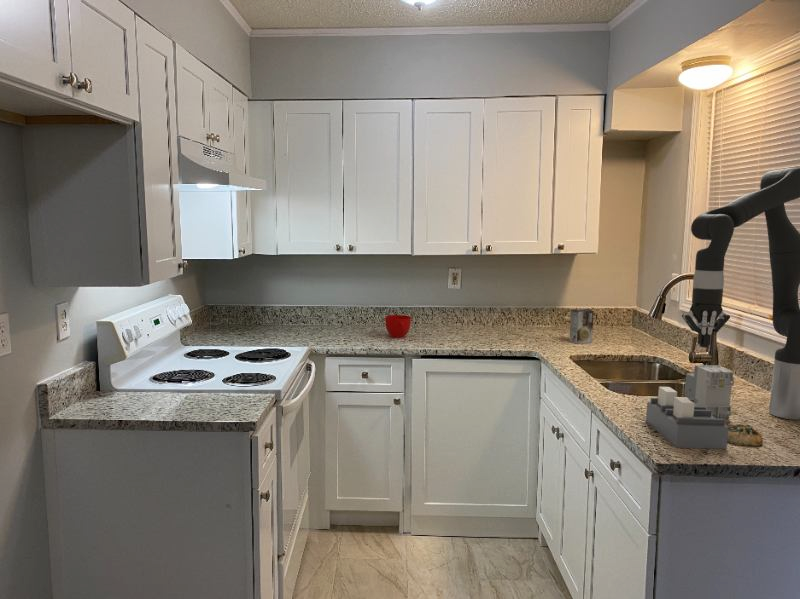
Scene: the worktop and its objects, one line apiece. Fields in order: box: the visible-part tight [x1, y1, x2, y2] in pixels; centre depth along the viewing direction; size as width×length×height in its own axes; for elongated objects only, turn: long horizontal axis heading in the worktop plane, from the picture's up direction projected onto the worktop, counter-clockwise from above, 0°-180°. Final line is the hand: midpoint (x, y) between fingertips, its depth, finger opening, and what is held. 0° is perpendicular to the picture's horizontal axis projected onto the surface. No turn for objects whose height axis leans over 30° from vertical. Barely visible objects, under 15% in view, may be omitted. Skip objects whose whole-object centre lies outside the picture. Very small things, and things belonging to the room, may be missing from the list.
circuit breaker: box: [683, 364, 735, 422], centre depth 176 cm, size 8×14×15 cm, turn 2°
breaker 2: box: [673, 396, 695, 418], centre depth 152 cm, size 3×5×5 cm, turn 178°
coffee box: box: [569, 308, 595, 345], centre depth 280 cm, size 9×6×16 cm
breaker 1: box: [657, 386, 678, 406], centre depth 162 cm, size 3×5×5 cm, turn 178°
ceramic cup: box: [384, 314, 412, 339], centre depth 284 cm, size 13×17×10 cm
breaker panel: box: [645, 397, 729, 450], centre depth 158 cm, size 13×20×8 cm, turn 178°
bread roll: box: [726, 423, 764, 447], centre depth 155 cm, size 11×11×5 cm
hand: (703, 346), depth 162 cm, fingers closed
